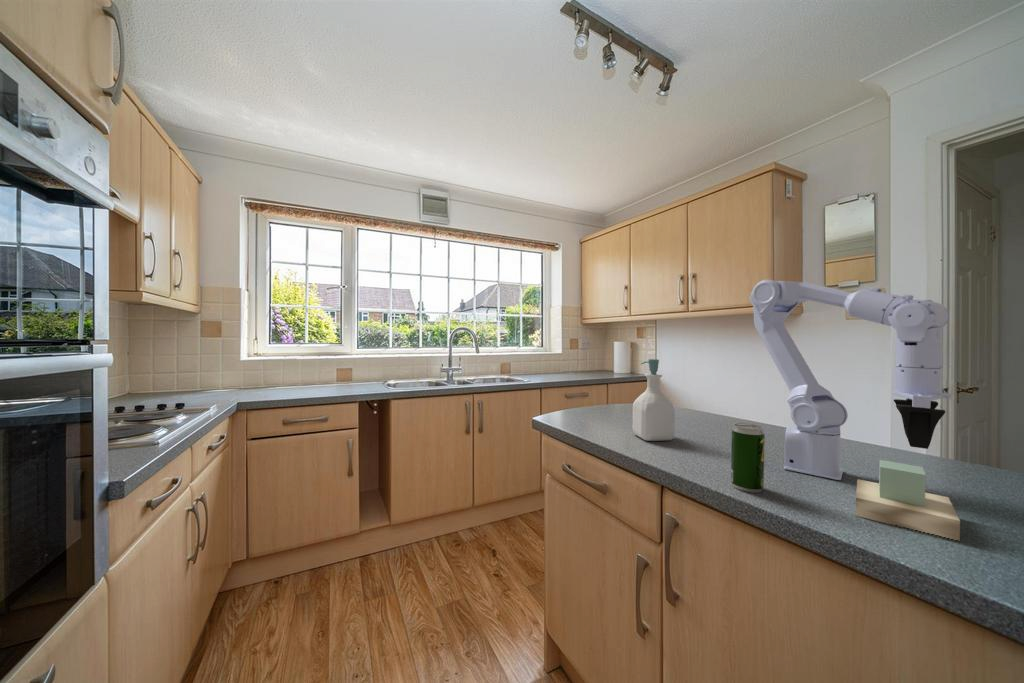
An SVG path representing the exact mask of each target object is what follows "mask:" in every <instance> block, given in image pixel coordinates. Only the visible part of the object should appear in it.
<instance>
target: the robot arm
mask: <svg viewBox="0 0 1024 683" xmlns="http://www.w3.org/2000/svg"><path fill="white" fill-rule="evenodd" d="M882 290H883V289H882V288H879V287H873V286H872V287H869V289H867V288H862V289H859V290H857V291H854V292H849V291H844V290H842V289H841V290H840V289H836V288H832V287H827V286H824V285H819V284H816V283H811V282H803V281H802V282H801V281H789V280H788V281H787V280H773V279H763V280H761V281H759V282H757V283H756V285H754V287H753V289H752V291H751V293H750V295H749V302H750V303H751V305H752V310H753V325H754V327H755V330H756V331H757V333H758V335H759V337H760V338H761V341H762V342H763V344H764V346H765V347H766V349H767V351H768V353H769V355H770V357H771V359H772V360H773V362H774V364H775V366H776V368H777V369H778V371H779V374H780V375H781V378H782V379H783V381H784V383H785V384H786V386H787V388H788V389H789V391H790V392H789V395H788V397H787V401H786V402H787V404H788V405H789V407H790V418H791V420H792V422H793V424H794V425H795V426H796V427H792V426H787V427H786V429H785V434H784V435H785V436H784V455H783V458H784V462H783V463H784V466H783V469H785V470H786V471H792V472H798V473H803V474H807V475H811V476H812V475H813V476H816V477H822V478H826V479H832V480H836V481H841V480H842V476H843V474H844V473H843V472H844V470H843V468H841V427H842V426H843V425H844V424H845V423H846V422H847V420H848V411H847V407H845V406H844V404H843V403H841V402H840V401H838V400H837V399H836V398H835V397H834V396H833V394H832V393H831V391H829V390H828V389H827V388H825V387H824V386H822V385H821V384H820V383H819V382H818V381H817V379H816V377H815V375H814V374H813V372H812V370H811V369H810V366H809V365H808V364H807V361H805V358H804V357H803V354H802V353H801V351H800V350H799V348H798V346H797V345H796V343H795V341H794V340H793V337H792V336H791V335H790V333H789V331H788V330H787V328H786V325H785V324H784V323H785V321H786V319H787V317H788V316H790V314H791V313H792V312H793V310H795V308H797V306H798V305H799V303H806V302H808V301H811V302H817V303H820V304H825V305H830V306H834V307H839V308H844V309H845V310H846V313H847V314H848V315H849V316H850V317H852V318H857V319H860V320H865V321H868V322H873V323H876V324H881V325H884V326H888V327H892V328H893V329H894V330H895V344H894V345H895V350H894V351H895V352H894V353H895V354H894V389H893V390H892V393H893V395H894V396H898V397H902V398H906V399H895V398H894V399H893V402H894V403H895V408H896V410H898V412H899V414H900V416H901V420H902V424H903V425H902V426H903V430H904V434H905V437H906V439H907V441H908V444H909V446H910V447H912V448H918V449H919V448H920V449H926V450H928V449H929V448H930V445H931V442H932V439H933V436H934V432H935V429H936V426H937V425H938V423H939V421H940V420H941V419H942V417H943V416H944V415H945V414H946V410H945V409H939V408H938V409H937V407H938V406H939V402H938V401H937V400H941V399H952V398H953V393H949V392H948V393H947V392H946V393H945V392H943V355H944V354H943V353H944V350H943V349H944V348H943V347H944V346H943V328H944V327H945V326H946V325H947V323H948V322H949V320H950V312H949V309H948V308H946V307H945V305H943V304H941V303H939V302H936V301H933V300H932V299H923V300H920V299H914V295H912V294H906V293H905V294H903V295H900V294H899V295H898V294H892V293H887V292H883V291H882Z"/></svg>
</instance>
